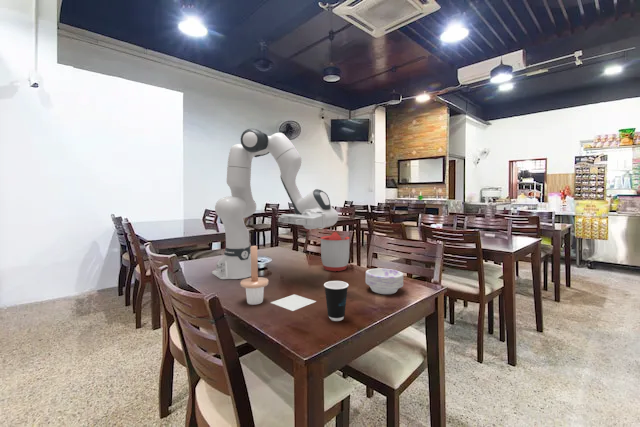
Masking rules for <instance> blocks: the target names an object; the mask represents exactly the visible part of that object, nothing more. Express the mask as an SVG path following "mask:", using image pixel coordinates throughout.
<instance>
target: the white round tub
mask: <svg viewBox="0 0 640 427" xmlns="http://www.w3.org/2000/svg"><path fill="white" fill-rule="evenodd" d="M264 290H265V286H264V287H261V288H245V293H246V294H245V295H246V303H247V305H251V306H253V305H259V304H261V303H263V302H264V293H265V292H264Z"/></svg>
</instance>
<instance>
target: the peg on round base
mask: <svg viewBox="0 0 640 427" xmlns="http://www.w3.org/2000/svg"><path fill="white" fill-rule="evenodd" d="M250 249H251V251H250V256H251V276H250V277H247V278H242V280H240V287H241V288H244V289H246V288H261V287H264V288H265V287H267V286H268V285H269V278H267V277H264V276H263V277H262V276H260V277H259V264H258V263H259V262H258V261H259V258H258V256H259V255H258V245H251V246H250Z"/></svg>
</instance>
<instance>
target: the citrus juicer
mask: <svg viewBox="0 0 640 427" xmlns="http://www.w3.org/2000/svg"><path fill="white" fill-rule="evenodd" d="M320 254H321V255H320V258H321V263H322V267H323V269H324V270H325V269H326V271H328V272H329V271H330V272H336V271H338V272H340V271H345V270H347V267H348V265H349V259H350V236H346V237H344V239H343V238H341V236H340V235H339V234H338V232H337V231H334V232H333V233H331V235H325V236H321V237H320Z"/></svg>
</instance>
